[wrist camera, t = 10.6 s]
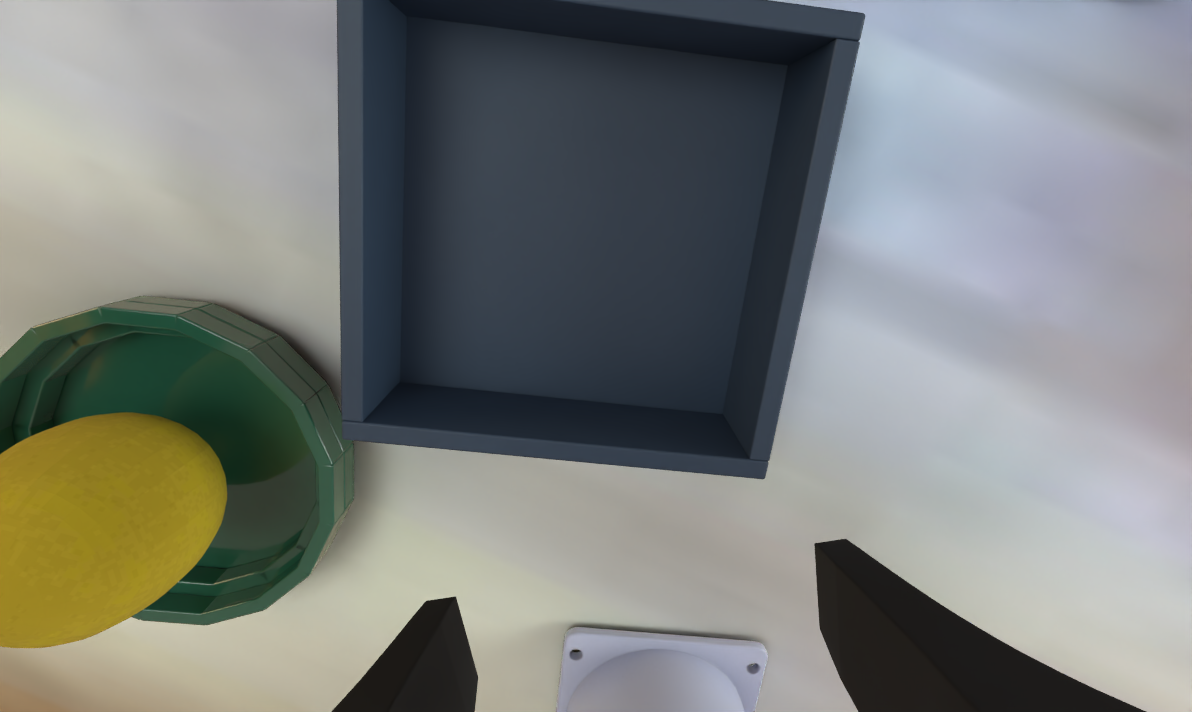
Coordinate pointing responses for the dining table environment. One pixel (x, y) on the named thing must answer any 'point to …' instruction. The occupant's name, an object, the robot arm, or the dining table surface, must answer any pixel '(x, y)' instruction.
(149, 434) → the lemon
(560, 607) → the dining table surface
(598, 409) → the tub
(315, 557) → the dish
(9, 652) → the dining table surface
